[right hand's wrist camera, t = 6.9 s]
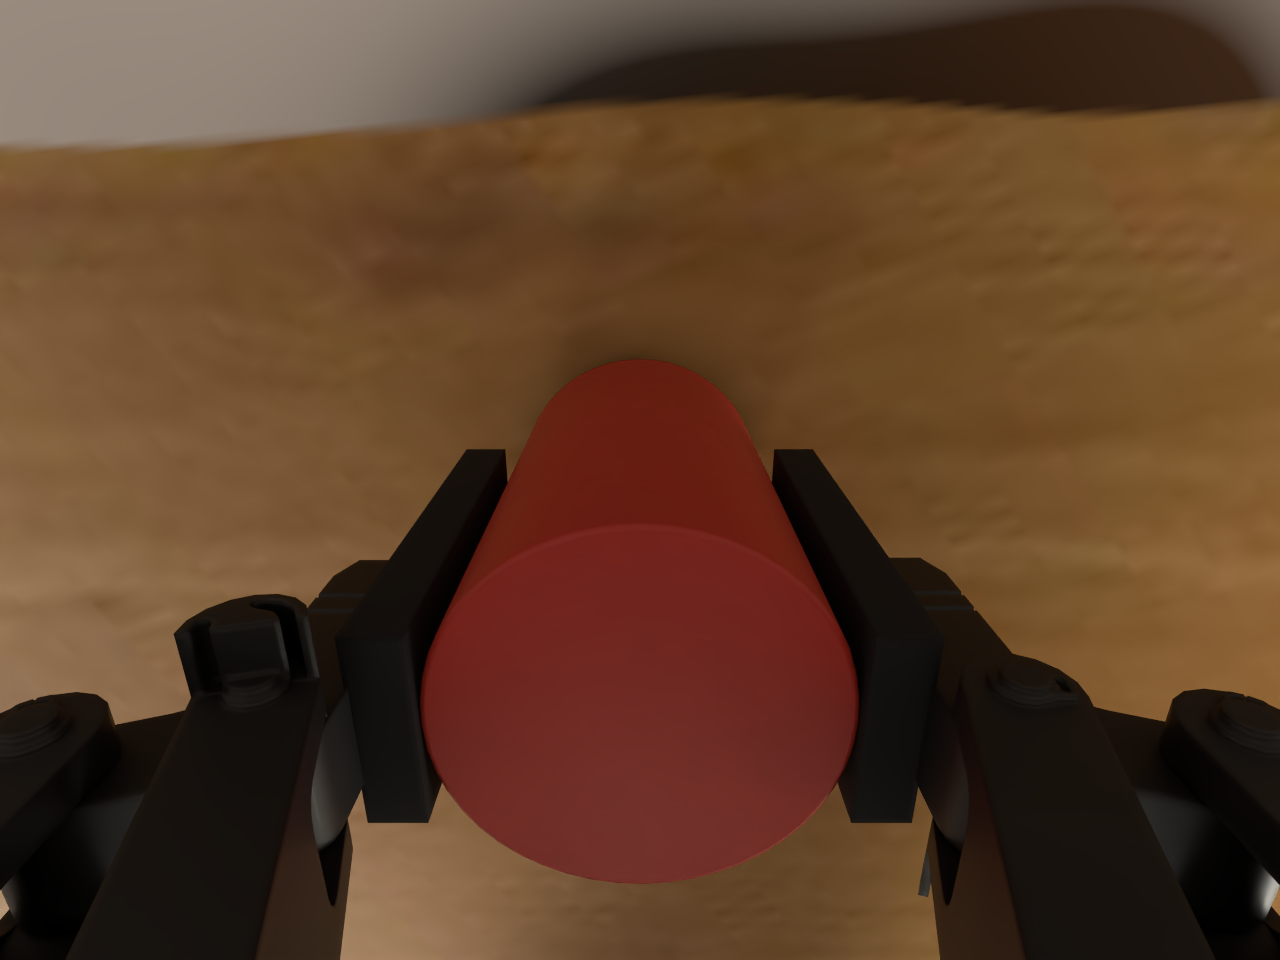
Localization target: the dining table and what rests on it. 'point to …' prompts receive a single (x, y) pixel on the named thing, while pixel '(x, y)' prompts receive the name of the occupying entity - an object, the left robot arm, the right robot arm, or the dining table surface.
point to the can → (639, 644)
